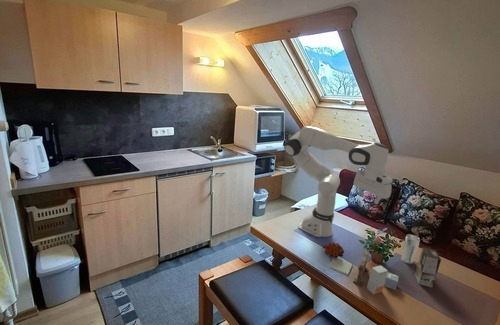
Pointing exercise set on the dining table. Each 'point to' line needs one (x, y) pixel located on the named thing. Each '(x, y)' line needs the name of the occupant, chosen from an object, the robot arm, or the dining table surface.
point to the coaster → (340, 266)
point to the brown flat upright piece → (362, 269)
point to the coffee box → (427, 267)
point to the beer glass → (410, 248)
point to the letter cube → (391, 281)
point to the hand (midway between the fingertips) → (368, 199)
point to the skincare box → (377, 279)
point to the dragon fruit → (333, 250)
